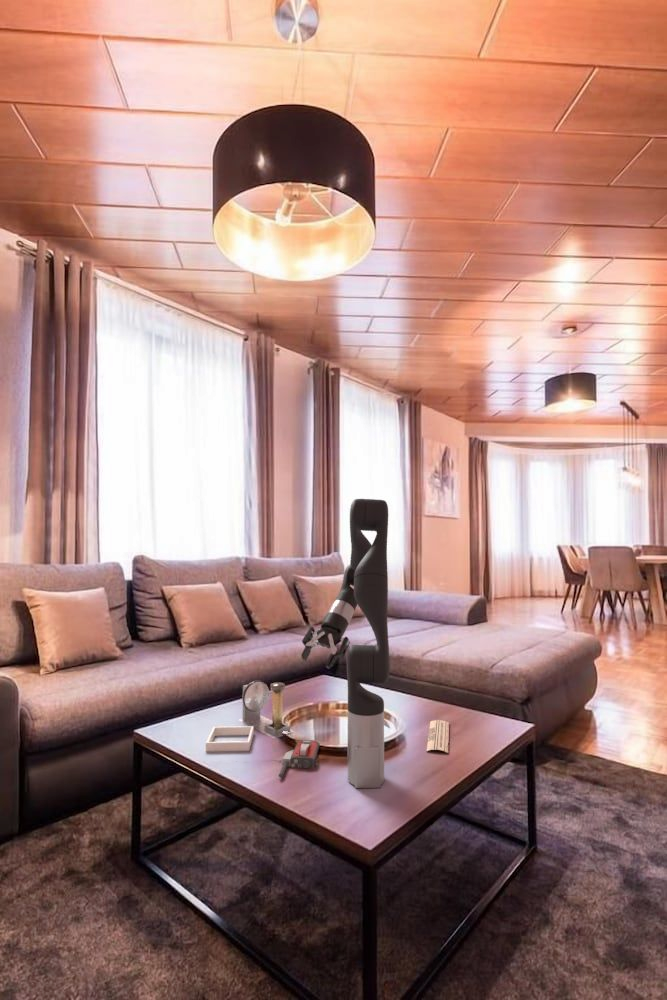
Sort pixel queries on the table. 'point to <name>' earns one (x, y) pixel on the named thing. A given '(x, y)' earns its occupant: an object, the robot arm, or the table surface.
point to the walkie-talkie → (301, 756)
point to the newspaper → (438, 736)
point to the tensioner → (253, 703)
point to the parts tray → (230, 745)
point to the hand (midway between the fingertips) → (315, 663)
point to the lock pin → (277, 704)
